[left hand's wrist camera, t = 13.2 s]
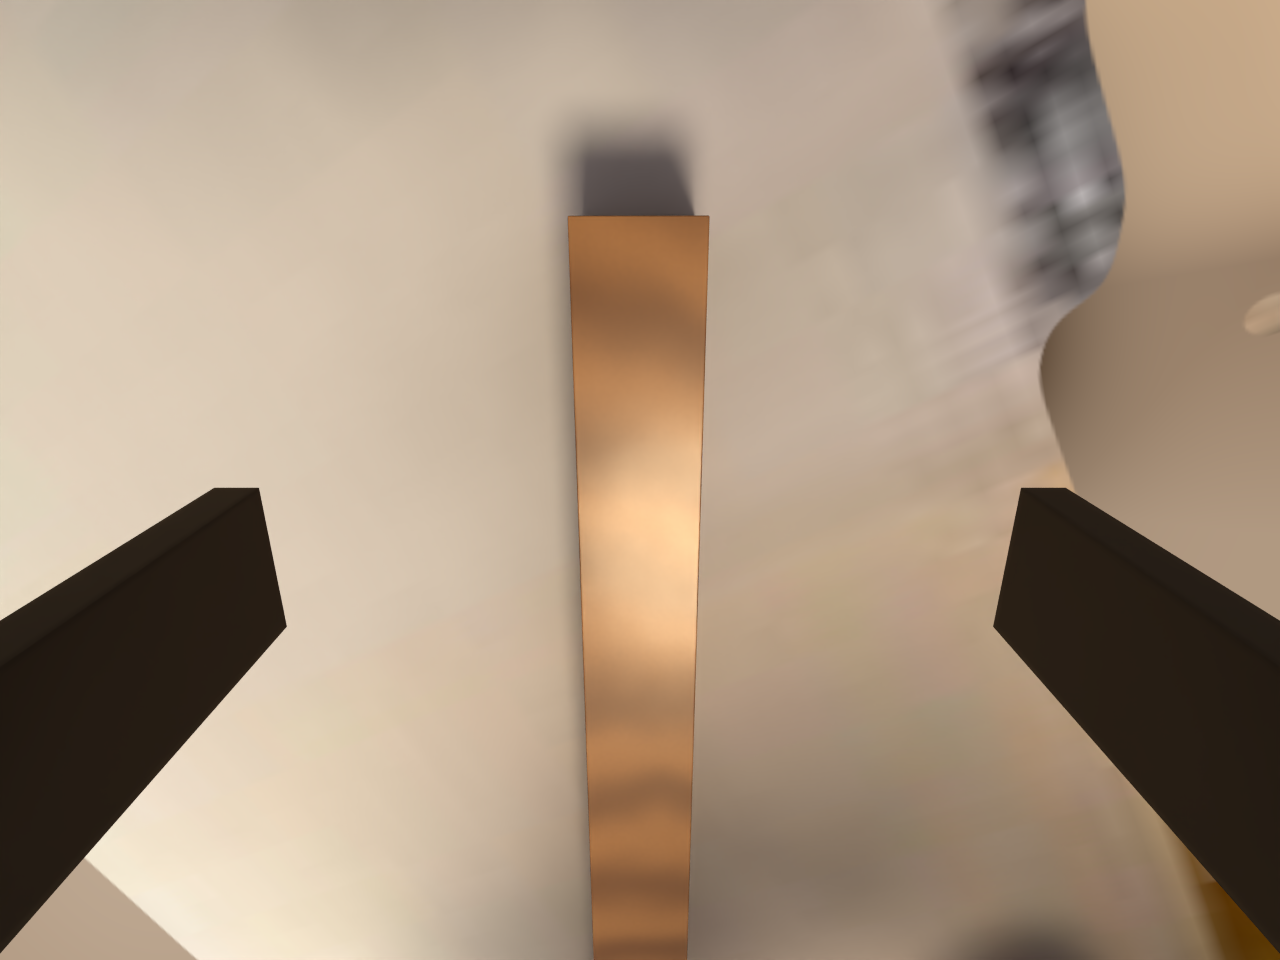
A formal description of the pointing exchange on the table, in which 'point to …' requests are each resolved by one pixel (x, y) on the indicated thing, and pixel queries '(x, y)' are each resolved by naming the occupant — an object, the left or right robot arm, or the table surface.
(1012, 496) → the table surface
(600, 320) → the beam
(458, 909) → the table surface
